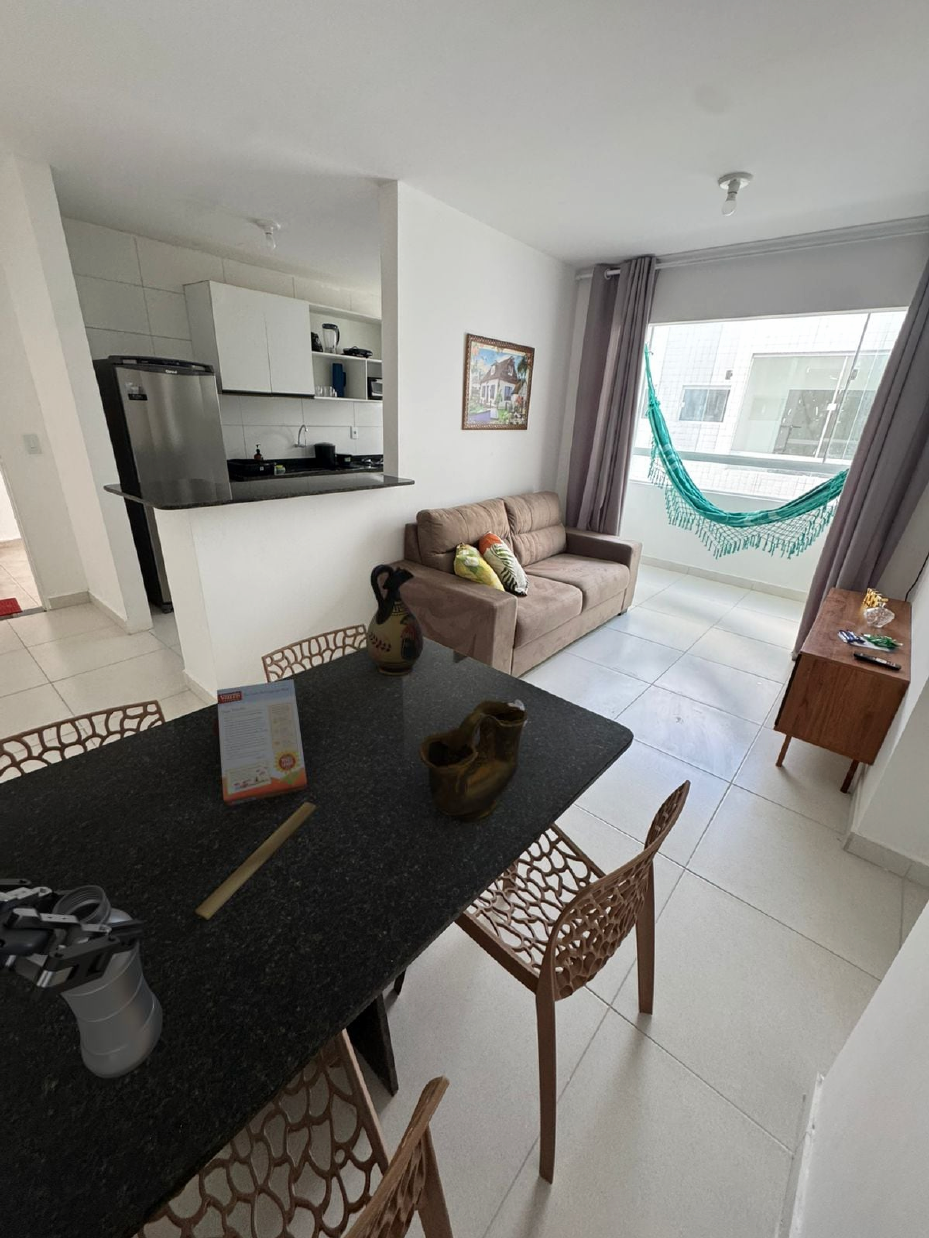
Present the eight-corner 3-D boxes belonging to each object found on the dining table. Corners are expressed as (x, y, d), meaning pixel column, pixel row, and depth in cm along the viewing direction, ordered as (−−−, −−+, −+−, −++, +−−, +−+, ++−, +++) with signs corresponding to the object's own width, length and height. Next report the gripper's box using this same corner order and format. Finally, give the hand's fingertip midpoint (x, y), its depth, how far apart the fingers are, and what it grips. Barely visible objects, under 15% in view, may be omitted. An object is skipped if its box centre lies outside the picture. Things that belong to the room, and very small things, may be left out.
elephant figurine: (519, 738, 115) (521, 717, 113) (488, 726, 119) (490, 704, 117) (531, 724, 121) (534, 703, 118) (501, 713, 124) (504, 692, 122)
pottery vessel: (448, 859, 85) (453, 763, 77) (402, 824, 91) (403, 732, 83) (531, 782, 102) (542, 698, 94) (488, 757, 109) (495, 677, 101)
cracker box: (306, 790, 98) (294, 688, 106) (307, 784, 93) (294, 677, 101) (226, 807, 93) (220, 698, 101) (222, 801, 88) (216, 687, 96)
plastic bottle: (158, 994, 54) (118, 856, 46) (174, 1055, 49) (132, 913, 41) (84, 1038, 50) (26, 895, 42) (93, 1108, 45) (29, 962, 37)
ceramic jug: (402, 649, 152) (402, 552, 140) (433, 670, 141) (437, 567, 129) (351, 665, 142) (346, 561, 130) (380, 689, 131) (379, 579, 119)
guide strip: (195, 913, 74) (195, 910, 73) (306, 803, 94) (305, 801, 94) (208, 919, 73) (207, 917, 73) (316, 808, 93) (316, 805, 93)
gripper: (-24, 935, 28) (193, 905, 43) (-152, 839, 33) (81, 842, 48) (-117, 1095, 26) (146, 1006, 41) (-241, 967, 31) (34, 929, 46)
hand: (110, 917), depth 44 cm, fingers closed on plastic bottle, 6 cm apart
